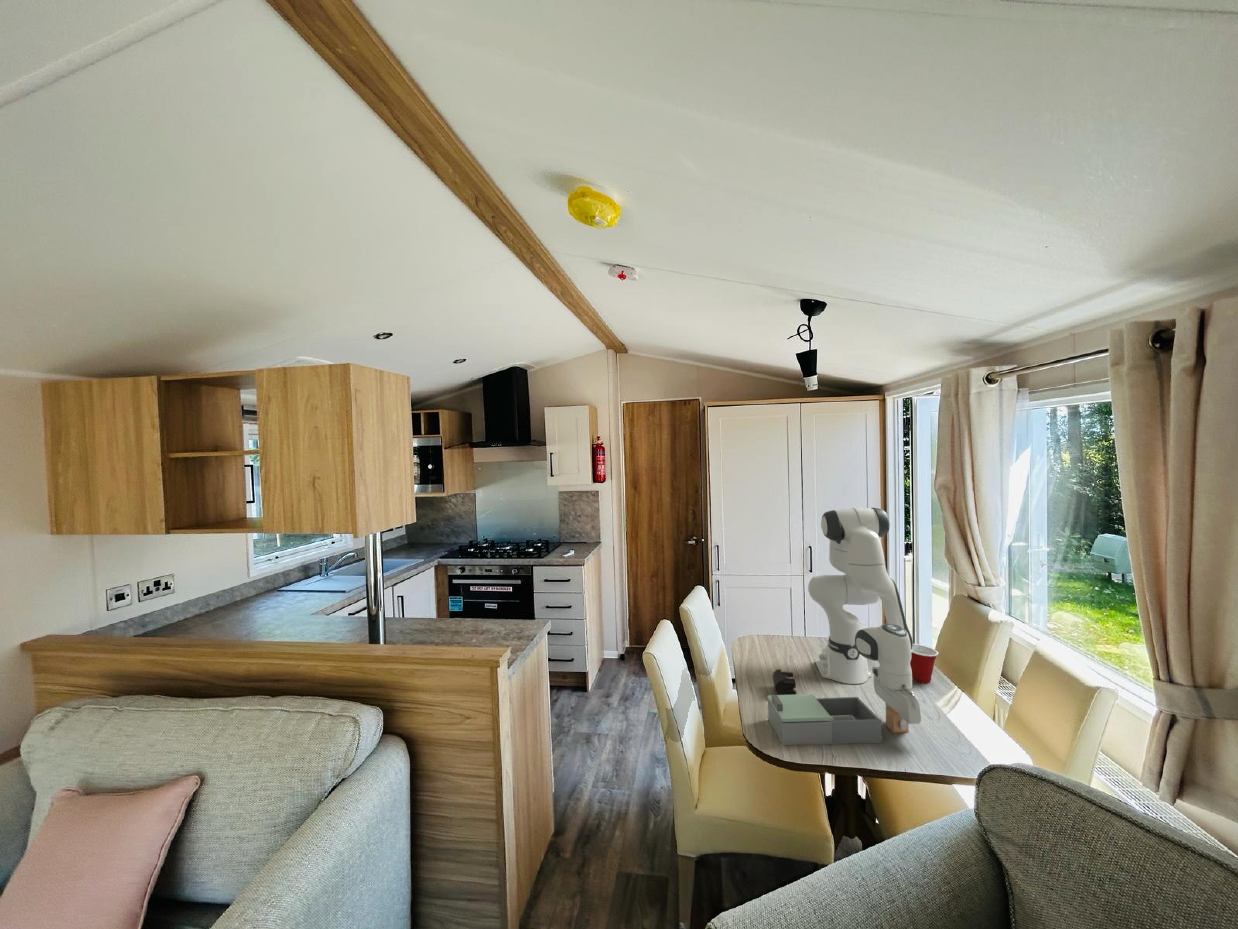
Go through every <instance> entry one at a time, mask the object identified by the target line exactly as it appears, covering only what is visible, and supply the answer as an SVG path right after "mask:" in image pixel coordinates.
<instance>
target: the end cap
mask: <svg viewBox="0 0 1238 929" xmlns="http://www.w3.org/2000/svg"><path fill="white" fill-rule="evenodd" d="M772 681H773V685H774V686H773V687H774V691H775V694H776V695H797V691H796V690H794V689H795V688H797V686H796V683H797V682H796V679H795V678H794V673H793V672H792V671H791V672H789V671H782V669H781V668H780V669H779V668H778V669H776V670H775V671H774V672H773V673H772Z"/></svg>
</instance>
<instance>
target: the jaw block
mask: <svg viewBox="0 0 1238 929" xmlns="http://www.w3.org/2000/svg"><path fill="white" fill-rule="evenodd" d="M900 719H901V718H900V717H899V714H897V713H896V712H895V711H894V710H893V709H892V708H891V707H886V706H885V725H886V726H887V727H888V728H889V729H890V730H891V731H892V732H893V733H909V725H910V724H908V723H907V728H906V729H901V728H900V727H899V726H898V721H900Z"/></svg>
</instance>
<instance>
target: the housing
mask: <svg viewBox="0 0 1238 929" xmlns="http://www.w3.org/2000/svg"><path fill="white" fill-rule="evenodd" d="M815 698H816V697H815ZM816 699H817V700H818V701H819V703H820V704H821V705H822V706H823V708H824V709H825V710H826V711H827V712H828V714H829V715H830V716H831V721H802V722H782V721H781V719H780V718H779V716H778V714H777V713H776V711H775V709H774V708H773V706H772V704H771V703H770V701H769V700H768V699H767V713H768V715H767V717H768V719H767V720H768V722H769V723H770V724H771V727H772V728H773V730H774V733H775V734H776V736H777V737H778V739H779V741H780V743H781V744H782V746H798V745H802V746H803V745H833V744H835V745H836V744H837V745H840V744H867V743H868V744H870V743H871V744H873V743H874V744H875V743H882V720H881V719H880V718H879V717H878V716H877V715H876V714H875V713H874V712H873V711H872V709H870V708H869V707H868V706H867V705H866V704H865V703H864V702H863V701H862V700H861V699H860V698H859V697H858V696H846V697H842V696H841V697H819V698H818V697H817V698H816Z"/></svg>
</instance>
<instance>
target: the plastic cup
mask: <svg viewBox="0 0 1238 929" xmlns="http://www.w3.org/2000/svg"><path fill="white" fill-rule="evenodd" d="M938 655H939V651H937V650H936V649H934V648H933V647H929V646H927V645H923V644H918V643H913V646H912V649H911V661H910V666H911V669H912V681H915V682H917V683H920V684H930V683H931V681H932V676H933V672H934V666H935V661H936V659H937V658H936V657H937V656H938Z"/></svg>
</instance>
